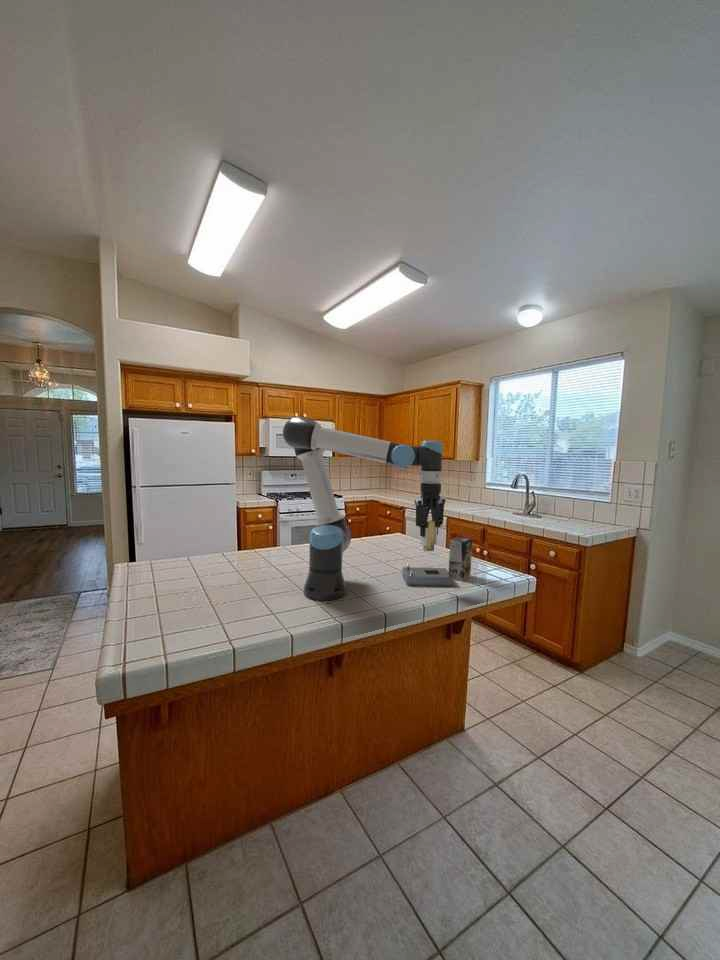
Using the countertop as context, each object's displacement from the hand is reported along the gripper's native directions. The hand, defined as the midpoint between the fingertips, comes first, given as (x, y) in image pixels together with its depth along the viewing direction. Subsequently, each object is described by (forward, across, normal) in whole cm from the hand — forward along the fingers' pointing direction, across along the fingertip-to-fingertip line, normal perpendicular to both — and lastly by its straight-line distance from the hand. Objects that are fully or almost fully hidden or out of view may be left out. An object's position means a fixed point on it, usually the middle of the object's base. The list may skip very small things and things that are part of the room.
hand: (428, 544), depth 145 cm
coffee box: (+17, +22, +4) cm, 28 cm away
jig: (+17, +6, +7) cm, 19 cm away
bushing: (+2, 0, 0) cm, 2 cm away
